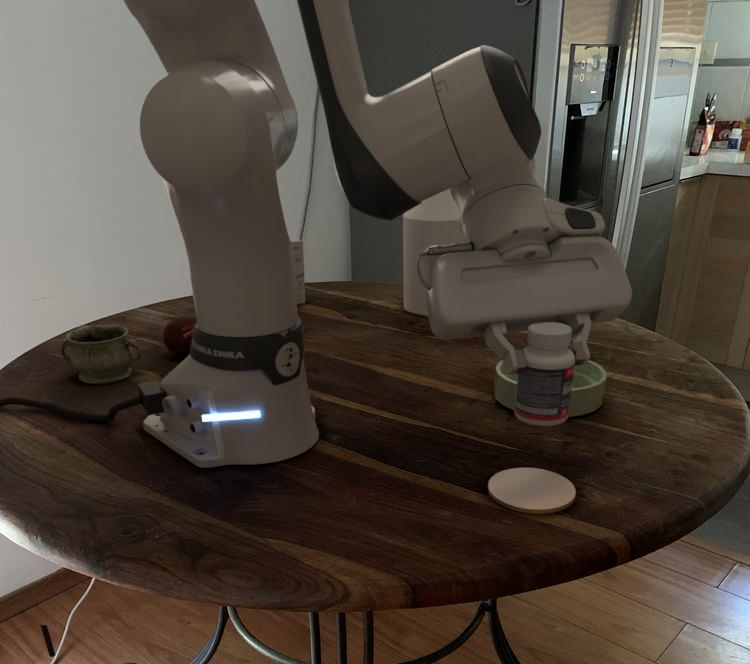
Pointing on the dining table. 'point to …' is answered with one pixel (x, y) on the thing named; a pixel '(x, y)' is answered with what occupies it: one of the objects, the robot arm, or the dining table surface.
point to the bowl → (583, 393)
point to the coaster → (531, 490)
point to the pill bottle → (546, 375)
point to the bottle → (426, 242)
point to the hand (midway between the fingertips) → (549, 367)
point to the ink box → (299, 269)
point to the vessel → (101, 353)
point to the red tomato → (179, 335)
